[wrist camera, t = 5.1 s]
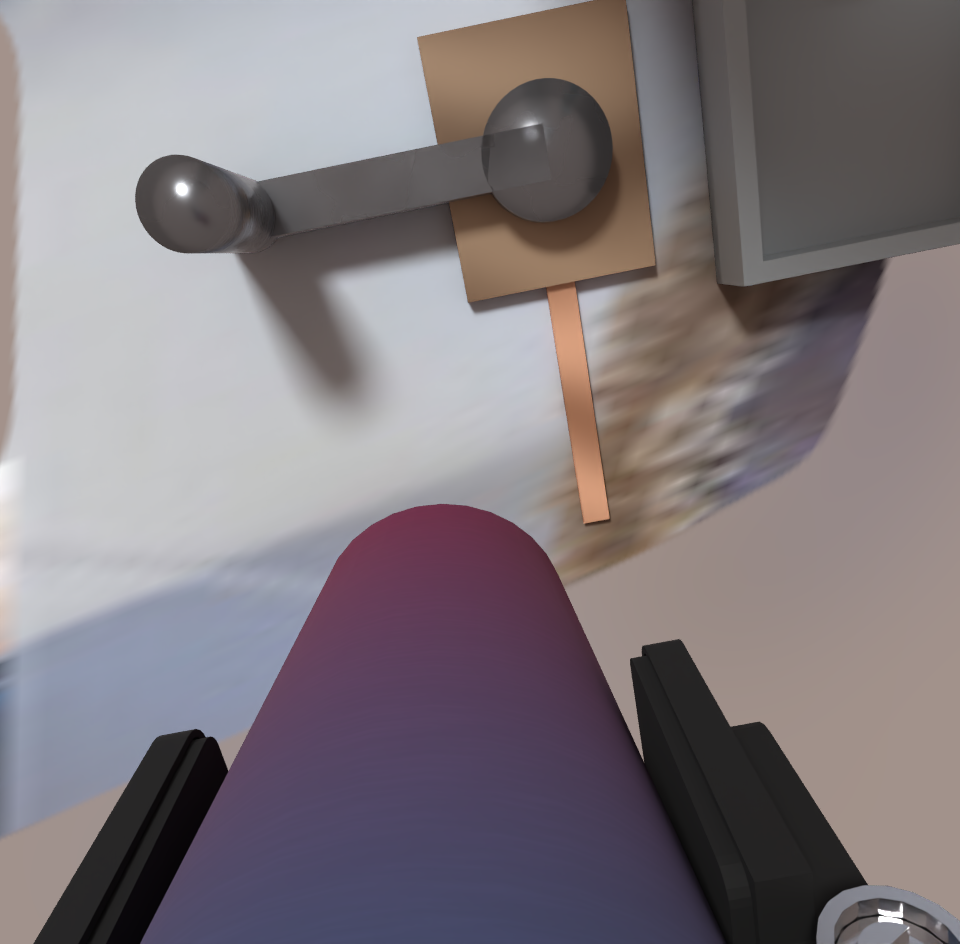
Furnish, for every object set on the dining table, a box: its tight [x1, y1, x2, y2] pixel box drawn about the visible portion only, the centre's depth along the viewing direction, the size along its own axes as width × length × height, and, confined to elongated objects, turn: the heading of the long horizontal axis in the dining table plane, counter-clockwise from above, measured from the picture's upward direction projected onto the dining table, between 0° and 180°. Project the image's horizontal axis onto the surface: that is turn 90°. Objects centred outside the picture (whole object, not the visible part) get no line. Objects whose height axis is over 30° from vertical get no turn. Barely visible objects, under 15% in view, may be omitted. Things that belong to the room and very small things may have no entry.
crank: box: [135, 78, 613, 253], centre depth 25 cm, size 16×5×7 cm, turn 101°
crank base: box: [417, 0, 656, 524], centre depth 30 cm, size 21×8×1 cm, turn 11°
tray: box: [692, 0, 960, 287], centre depth 27 cm, size 13×13×3 cm
